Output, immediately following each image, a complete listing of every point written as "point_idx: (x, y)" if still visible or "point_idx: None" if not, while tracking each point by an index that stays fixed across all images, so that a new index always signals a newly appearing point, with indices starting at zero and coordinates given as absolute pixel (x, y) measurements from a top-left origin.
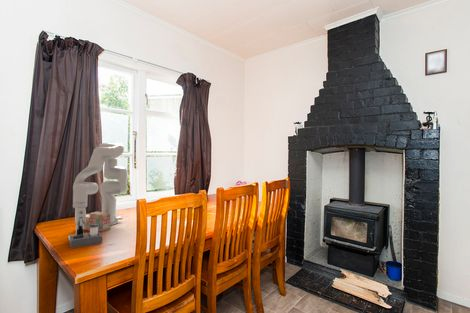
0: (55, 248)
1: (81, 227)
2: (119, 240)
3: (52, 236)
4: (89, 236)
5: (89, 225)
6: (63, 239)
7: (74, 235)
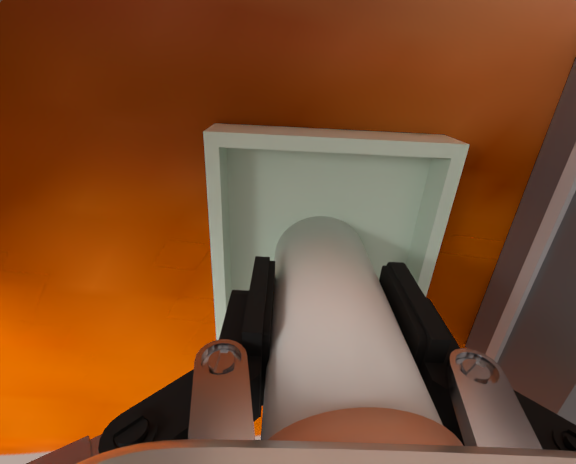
0: None
1: (539, 420)
2: None
3: (69, 420)
4: None
5: None
6: None
7: (561, 415)
